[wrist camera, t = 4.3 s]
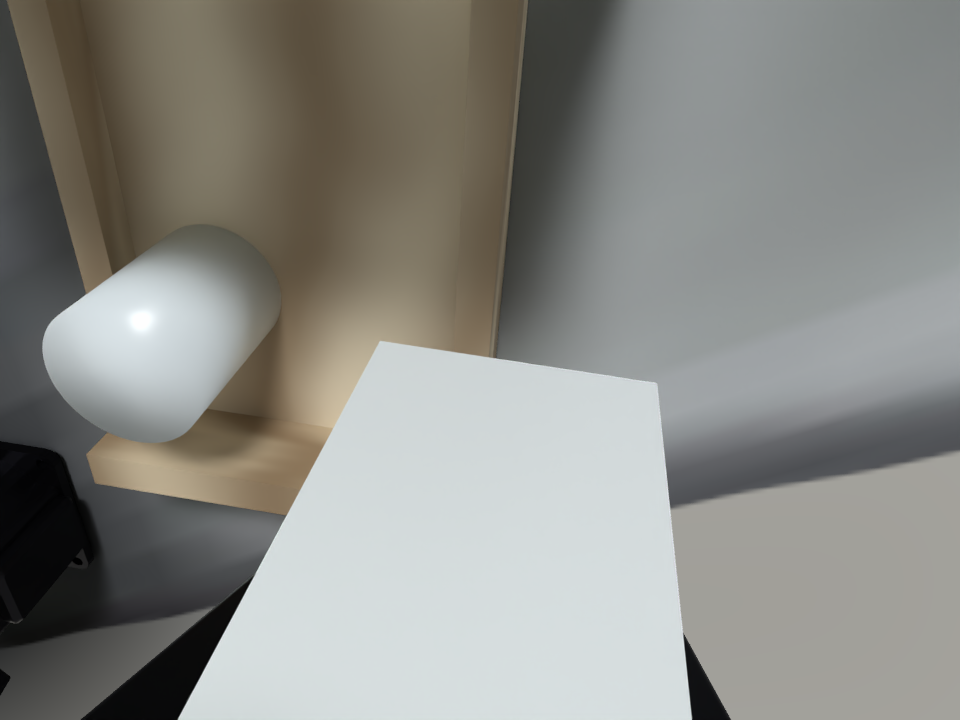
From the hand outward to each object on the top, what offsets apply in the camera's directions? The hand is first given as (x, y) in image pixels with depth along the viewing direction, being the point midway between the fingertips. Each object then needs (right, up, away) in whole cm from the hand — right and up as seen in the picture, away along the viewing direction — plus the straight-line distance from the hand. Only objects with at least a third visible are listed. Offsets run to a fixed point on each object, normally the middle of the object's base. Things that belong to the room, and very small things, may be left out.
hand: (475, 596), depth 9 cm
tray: (-5, +8, +11) cm, 15 cm away
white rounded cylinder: (-8, +5, +12) cm, 16 cm away
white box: (0, +1, +2) cm, 3 cm away
